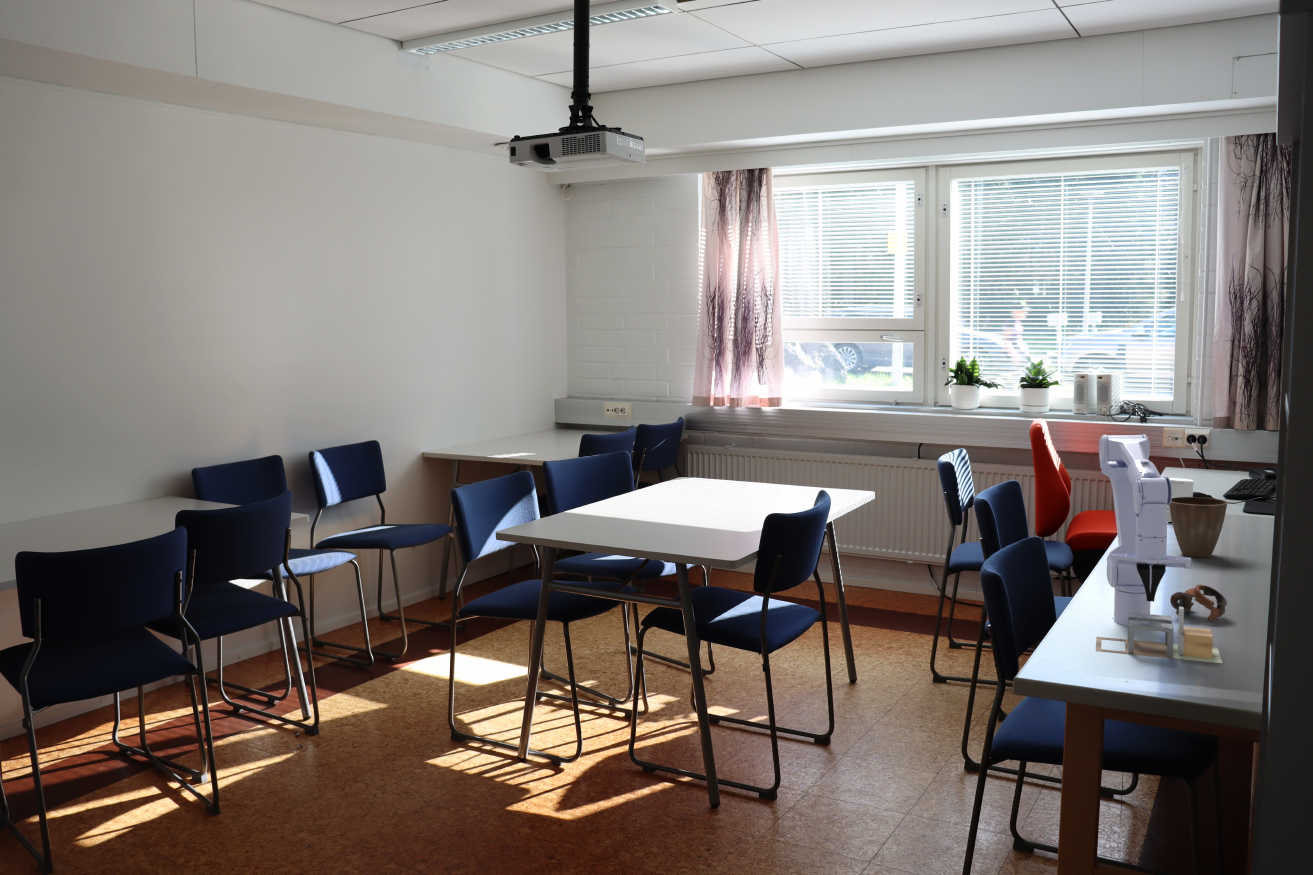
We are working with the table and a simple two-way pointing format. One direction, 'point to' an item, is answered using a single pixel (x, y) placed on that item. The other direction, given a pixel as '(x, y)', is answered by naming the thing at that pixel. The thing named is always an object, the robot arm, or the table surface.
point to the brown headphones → (1200, 600)
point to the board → (1157, 650)
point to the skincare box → (1180, 491)
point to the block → (1198, 642)
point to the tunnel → (1150, 628)
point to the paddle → (1181, 631)
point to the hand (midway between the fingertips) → (1150, 600)
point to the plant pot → (1197, 524)
